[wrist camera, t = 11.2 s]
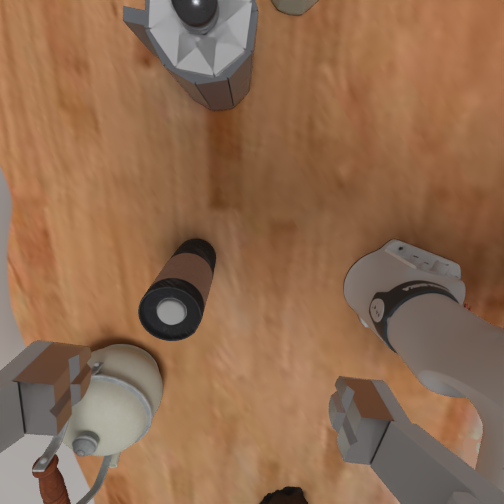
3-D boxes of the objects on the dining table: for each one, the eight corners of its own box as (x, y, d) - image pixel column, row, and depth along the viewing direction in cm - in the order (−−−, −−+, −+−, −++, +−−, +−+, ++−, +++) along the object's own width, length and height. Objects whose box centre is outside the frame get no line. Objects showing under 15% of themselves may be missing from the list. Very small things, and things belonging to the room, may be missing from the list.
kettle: (73, 326, 55) (-52, 451, 32) (165, 327, 56) (108, 450, 33) (93, 418, 64) (5, 572, 40) (173, 418, 64) (133, 569, 41)
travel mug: (169, 244, 50) (125, 297, 31) (208, 231, 50) (186, 277, 31) (186, 280, 53) (154, 349, 34) (223, 268, 52) (212, 331, 33)
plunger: (228, 39, 33) (219, -31, 21) (224, 73, 34) (213, 26, 22) (198, 33, 33) (171, -43, 20) (195, 67, 34) (167, 16, 22)
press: (256, 40, 40) (266, -48, 23) (245, 118, 44) (246, 93, 26) (167, 20, 39) (107, -87, 22) (162, 102, 43) (107, 64, 25)
